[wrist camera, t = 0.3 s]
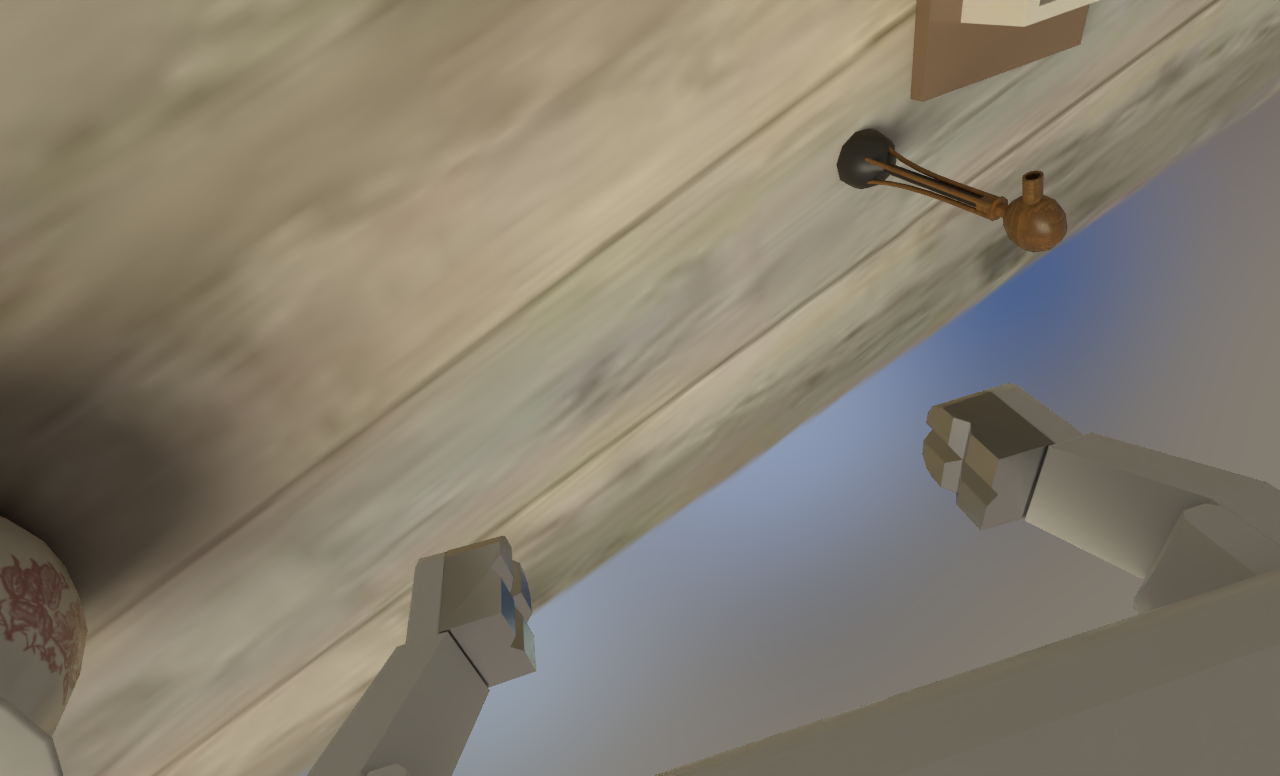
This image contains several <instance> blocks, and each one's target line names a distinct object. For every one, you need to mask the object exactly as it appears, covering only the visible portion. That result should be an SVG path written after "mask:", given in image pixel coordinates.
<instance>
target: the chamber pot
mask: <svg viewBox="0 0 1280 776" xmlns="http://www.w3.org/2000/svg"><path fill="white" fill-rule="evenodd" d="M86 636H87V627H86V622H85V617H84V613H83V608H82V603H81V599H80V597H79V595H78V593H77V591H76V588H75V586H74V584H73V582H72V580H71V577H70V575H69V573H68V571H67V569H66V567H65V565H64V564H63V563H62V562H61V561H60V560H59V558H58V557H57V556H56V555H55V554H54V553H53V551H52V550H51V549H50V548H49V547H48V546H47V544H46V543H45V542H44V541H42V540H41V539H40V538H38V537H37V536H35V535H33V534H32V533H30V532H28V531H27V530H25V529H23V528H22V527H20V526H18V525H17V524H15V523H13V522H12V521H10V520H9V519H7V518H5V517H3V516H0V776H63V772H62V769H61V765H60V762H59V758H58V755H57V752H56V748H55V745H54V742H53V738H52V736H53V733H54V731H55V729H56V727H57V725H58V722H59V720H60V718H61V716H62V714H63V712H64V709H65V707H66V705H67V703H68V700H69V698H70V696H71V693H72V691H73V689H74V687H75V684H76V682H77V680H78V677H79V675H80V670H81V665H82V659H83V653H84V648H85V642H86Z"/></svg>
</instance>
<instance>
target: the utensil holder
mask: <svg viewBox="0 0 1280 776" xmlns="http://www.w3.org/2000/svg"><path fill="white" fill-rule="evenodd" d="M1096 1H1099V0H917V8H916V24H915V39H914V55H913V71H912V87H911V99H914V100H918V101H926V100H929V99H932V98H934V97H937V96H940V95H943V94H945V93H948V92H951V91H954V90H956V89H959V88H962V87H965V86H967V85H970V84H973V83H976V82H978V81H981V80H984V79H987V78H989V77H992V76H995V75H998V74H1000V73H1003V72H1006V71H1009V70H1011V69H1014V68H1017V67H1019V66H1022V65H1025V64H1028V63H1030V62H1033V61H1036V60H1039V59H1041V58H1044V57H1047V56H1050V55H1052V54H1055V53H1058V52H1061V51H1063V50H1066V49H1069V48H1072V47H1074V46H1077V45H1080V44H1081V39H1082V35H1083V30H1084V26H1085V21H1086V17H1087V12H1088V8H1089V4H1090V3H1093V2H1096Z"/></svg>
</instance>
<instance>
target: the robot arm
mask: <svg viewBox="0 0 1280 776" xmlns="http://www.w3.org/2000/svg"><path fill="white" fill-rule="evenodd" d="M926 423H927V424H928V425H929V426H930V427H931V428H932V431H931V432H930V433H929V434H928V436H927V437H926V438H925V439H924V442H923V453H922V454H923V457H924V461H925V464H926V468H927V469H928V471H929V473H930V474H931V476H932V477H933V479H934V480H935V481H936V482H937V483H938V484H939V486H940V487H942V488H945V489H947V490H950V491H952V492H955V493H956V504H957V505H958V506H959V508H960V509H961V510H962V511H963V512H964V513H965V514H966V515H967V516H968V517H969V518H970V519H971V520H972V522H973V523H974V524H975V525H976V526H977V527H978V528H979V529H980V530H985V529H988V528H992V527H995V526H999V525H1002V524H1006V523H1009V522H1013V521H1016V520H1020V519H1023V518H1025V521H1027V522H1029V523H1031V524H1033V525H1035V526H1037V527H1039V528H1041V529H1043V530H1045V531H1047V532H1049V533H1051V534H1053V535H1055V536H1057V537H1059V538H1061V539H1063V540H1065V541H1067V542H1069V543H1071V544H1073V545H1075V546H1077V547H1079V548H1081V549H1083V550H1085V551H1087V552H1089V553H1091V554H1093V555H1095V556H1097V557H1099V558H1101V559H1103V560H1105V561H1107V562H1109V563H1111V564H1113V565H1115V566H1117V567H1119V568H1121V569H1124V570H1125V571H1127V572H1129V573H1131V574H1133V575H1135V576H1137V577H1139V578H1141V579H1143V580H1144V581H1143V583H1142V585H1141V587H1140V588H1139V590H1138V592H1137V594H1136V595H1135V597H1134V600H1133V608H1134V609H1135V610H1136V611H1137V612H1138V613H1139V615H1135V616H1132V617H1130V618H1127V619H1123V620H1121V621H1118V622H1115V623H1111V624H1108V625H1105V626H1103V627H1099V628H1097V629H1093V630H1090V631H1087V632H1084V633H1081V634H1078V635H1075V636H1072V637H1070V638H1067V639H1063V640H1060V641H1057V642H1054V643H1051V644H1048V645H1045V646H1042V647H1039V648H1036V649H1033V650H1030V651H1027V652H1024V653H1021V654H1018V655H1015V656H1012V657H1009V658H1006V659H1003V660H1000V661H997V662H994V663H991V664H988V665H985V666H982V667H979V668H976V669H973V670H969V671H966V672H964V673H961V674H957V675H954V676H951V677H948V678H945V679H942V680H940V681H936V682H933V683H930V684H927V685H924V686H921V687H918V688H915V689H912V690H910V691H906V692H903V693H900V694H897V695H894V696H891V697H888V698H885V699H882V700H879V701H876V702H873V703H870V704H867V705H864V706H861V707H858V708H855V709H852V710H849V711H846V712H843V713H840V714H837V715H834V716H831V717H828V718H825V719H822V720H819V721H816V722H813V723H810V724H807V725H804V726H801V727H798V728H795V729H792V730H788V731H785V732H782V733H779V734H776V735H773V736H770V737H768V738H764V739H761V740H758V741H756V742H752V743H749V744H746V745H743V746H740V747H737V748H734V749H731V750H728V751H725V752H722V753H719V754H716V755H713V756H710V757H707V758H704V759H701V760H698V761H695V762H692V763H689V764H686V765H683V766H680V767H677V768H674V769H671V770H668V771H665V772H662V773H659V774H656V775H653V776H1280V490H1278V489H1277V488H1275V487H1273V486H1272V485H1270V484H1269V483H1267V482H1264V481H1261V480H1257V479H1253V478H1250V477H1247V476H1243V475H1240V474H1236V473H1233V472H1229V471H1226V470H1222V469H1219V468H1215V467H1211V466H1208V465H1204V464H1201V463H1197V462H1194V461H1190V460H1187V459H1183V458H1180V457H1176V456H1173V455H1169V454H1166V453H1162V452H1158V451H1155V450H1152V449H1148V448H1144V447H1141V446H1137V445H1133V444H1130V443H1127V442H1123V441H1120V440H1116V439H1112V438H1109V437H1106V436H1102V435H1099V434H1095V433H1089V434H1086V435H1083V434H1082V433H1081V432H1080V431H1078V430H1077V429H1076V428H1074V427H1073V426H1072V425H1070V424H1069V423H1068V422H1066V421H1065V420H1063V419H1062V418H1061V417H1059V416H1058V415H1057V414H1055V413H1054V412H1053V411H1051V410H1050V409H1049V408H1047V407H1046V406H1045V405H1043V404H1042V403H1041V402H1039V401H1038V400H1037V399H1035V398H1034V397H1033V396H1031V395H1030V394H1029V393H1027V392H1026V391H1024V390H1023V389H1022V388H1020V387H1019V386H1017V385H1015V384H1011V383H1007V384H1004V385H1000V386H997V387H994V388H991V389H987V390H984V391H982V392H977V393H974V394H971V395H967V396H964V397H961V398H958V399H955V400H951V401H948V402H945V403H942V404H938V405H935V406H932V408H931V409H930V410H929V412H928V415H927V421H926ZM531 614H532V605H531V597H530V592H529V587H528V582H527V579H526V577H525V574H524V571H523V569H522V567H521V565H520V563H518V562H516V561H514V560H512V547H511V546H510V544H509V542H508V540H507V539H506V537H505V536H500V537H496V538H492V539H489V540H485V541H481V542H478V543H474V544H470V545H467V546H463V547H459V548H456V549H452V550H448V551H446V552H443V553H439V554H436V555H432V556H428V557H425V558H421V559H419V561H418V563H417V565H416V567H415V573H414V581H413V589H412V597H411V604H410V612H409V620H408V628H407V636H406V644H404V645H401V646H398V647H396V649H395V650H394V652H393V653H392V655H391V656H390V657H389V659H388V660H387V662H386V663H385V665H384V666H383V667H382V669H381V670H380V672H379V673H378V675H377V676H376V677H375V679H374V680H373V682H372V683H371V685H370V686H369V687H368V689H367V690H366V692H365V693H364V695H363V696H362V697H361V699H360V700H359V702H358V703H357V705H356V706H355V707H354V709H353V710H352V712H351V713H350V715H349V716H348V717H347V719H346V720H345V722H344V723H343V725H342V726H341V727H340V729H339V730H338V732H337V733H336V735H335V736H334V737H333V739H332V740H331V742H330V743H329V745H328V746H327V747H326V749H325V750H324V752H323V753H322V755H321V756H320V757H319V759H318V760H317V762H316V763H315V765H314V766H313V767H312V769H311V770H310V772H309V773H308V775H307V776H452V774H453V771H454V769H455V767H456V765H457V762H458V760H459V758H460V756H461V753H462V751H463V749H464V747H465V744H466V742H467V740H468V738H469V735H470V733H471V731H472V729H473V726H474V724H475V722H476V720H477V717H478V715H479V713H480V711H481V709H482V706H483V704H484V702H485V700H486V697H487V695H488V693H489V689H488V687H491V686H494V685H497V684H500V683H503V682H506V681H508V680H511V679H515V678H517V677H520V676H523V675H526V674H529V673H532V672H535V671H536V661H535V646H534V635H533V633H532V632H531V630H530V628H529V626H528V624H527V622H528V620H529V618H530V616H531Z"/></svg>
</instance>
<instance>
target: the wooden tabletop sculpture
mask: <svg viewBox="0 0 1280 776" xmlns="http://www.w3.org/2000/svg"><path fill="white" fill-rule="evenodd" d="M896 158H897V159H898V160H900V161H901V162H903V163H904V164H906V165H908V166H910V167H911V168H913V169H915V170H917V171H919V172H921V173H923V174H925V175H927V176H929V177H927V176H924V175H921V174H919V173H916V172H913V171H910V170H907V169H905V168H902V167H899V166H896V165H895V164H896ZM837 168H838V173H839V177H840V180H842V181H843V182H845V183H847V184H848V185H850V186H852V187H855V188H858V189H864V188H869V187H872V186H876V185H879V184H880V185H889V186H893V187H898V188H903V189H907V190H910V191H914V192H917V193H921V194H924V195H927V196H930V197H933V198H935V199H938V200H941V201H944V202H946V203H949V204H952V205H954V206H957V207H959V208H962V209H964V210H967V211H969V212H972V213H974V214H977V215H979V216H982V217H985V218H987V219H990V220H991V221H993V220H997V219H999V218H1000V217H1002V218H1003V225H1004V228H1005V230H1006V233H1007V235H1008V237H1009V239H1010V240H1011V241H1013V242H1014V243H1015V244H1016V245H1017V246H1019V247H1020V248H1021V249H1024V250H1027V251H1030V252H1039V251H1046V250H1050V249H1052V248H1053V247H1054V246H1056V245H1057V244H1058V243H1059V242H1061V241H1062V239H1063V238H1064V236H1065V234H1066V232H1067V221H1066V214H1065V212H1064V210H1063V209H1062V208H1061V206H1060V205H1059V204H1058V203H1057V202H1056V200H1054V199H1052V198H1050V197H1048V196H1046V195H1043V172H1041V171H1031V172H1028V173H1026V174H1025V175H1023V177H1022V186H1023V195H1022V196H1020V197H1019V198H1017V199H1015V200H1013V201H1012V202H1011V203H1010V204H1009V205H1008V200H1007V199H1006V198H1005V197H1003V196H1002V197H998V196H995V195H992V194H990V193H987V192H984V191H981V190H978V189H975V188H972V187H970V186H967V185H964V184H961V183H958V182H956V181H953V180H951V179H948V178H945V177H943V176H940V175H938V174H935V173H933V172H931V171H929V170H927V169H924V168H922V167H920V166H918V165H916V164H915V163H913V162H911V161H909V160H907V159H906V158H904V157H903V156H901V155H900V154H898V153H897V152H896V151H895V147H894V144H893V142H892V141H891V140H890V139H888V138H887V137H885V136H884V135H882V134H881V133H879V132H878V131H876V130H873V129H867V130H863V131H859V132H855V134H854V135H853V136H852V137H851V138H850V139H849V140H848V141H847V142H846V143H845V144H844V145H843V146H842V149H841V152H840V155H839V159H838V162H837ZM889 175H892V176H895V177H897V178H900V179H903V180H905V181H908V182H910V183H913V184H916V185H918V186H921V187H924V188H926V189H929V190H931V191H934V192H937V193H939V194H942V195H944V196H942V195H939V194H937V193H934V192H931V191H928V190H924V189H921V188H917V187H914V186H910V185H906V184H902V183H897V182H892V181H884V180H885V179H886V178H887V177H888V176H889ZM930 177H932V178H934V179H932V178H930ZM935 179H936V180H935ZM945 196H947V197H945ZM948 197H950V198H948ZM951 198H952V199H951ZM953 199H955V200H953ZM956 200H957V201H956ZM959 201H960V202H959ZM961 202H963V203H961ZM964 203H965V204H964ZM966 204H968V205H966ZM969 205H971V206H969ZM972 206H973V207H972ZM974 207H976V208H974Z"/></svg>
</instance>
